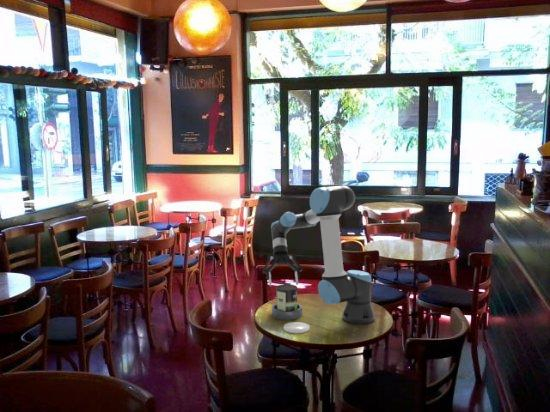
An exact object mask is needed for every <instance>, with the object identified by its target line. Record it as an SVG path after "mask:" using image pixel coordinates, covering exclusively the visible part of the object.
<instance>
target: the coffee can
mask: <svg viewBox="0 0 550 412" xmlns="http://www.w3.org/2000/svg"><path fill="white" fill-rule="evenodd" d="M275 289H276V303H277V310H279V311H294V310H297V304H298V287H297V285H296V284H295V285H294V284H291V283H289V284H288V283H287V284H286V283H285V284H279V285H277V286H276V287H275Z"/></svg>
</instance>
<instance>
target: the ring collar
mask: <svg viewBox="0 0 550 412" xmlns="http://www.w3.org/2000/svg"><path fill="white" fill-rule="evenodd" d="M271 316H272V318H275V319H277V320H282V321H291V320H292V321H293V320H297V319H299V318H301V317H302V316H303V306H302V305H301V304H300V303H297V310H294V311H279V310H277V302H276V303H274V304H273V305H272V306H271Z"/></svg>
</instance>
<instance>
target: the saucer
mask: <svg viewBox="0 0 550 412" xmlns="http://www.w3.org/2000/svg"><path fill="white" fill-rule="evenodd" d="M310 329H311V328H310V325H309V324H308V323H305V322H301V321H293V322H287V323H285V324H284V325H283V331H284V332H285V333H288V334H289V333H290V334H295V335H297V334H304V333H307V332H309V331H310Z"/></svg>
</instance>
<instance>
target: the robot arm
mask: <svg viewBox="0 0 550 412" xmlns="http://www.w3.org/2000/svg"><path fill="white" fill-rule="evenodd" d="M355 202H356V194H355V191H353V189H352V188H350V187H349V186H347V185H332V186H321V187H317V188H315V189H314V190H313V191H312V192H311V194H310V197H309V207H310V209H309V210H307V211H306V212H304V213H296V214H295V213H294V212H291V211H286V212H284V213H283V214H282V216H280V218H279V220H276V221H274V222H272V223H271V225H270V230H271V231H270V232H271V233H270V234H271V240H272V250H273V251H272V252H273V256H272V255H268V256H267V260H266V262H265V265H264V266H263V269H262V274H266V280H268V283H269V287H272V274H271V271H272V270H274V268H275V267H276V266H277V265H278V266H279V265H286V266H287V267H289V268H290V269H291V270H293V271H294V277H295V286H297V285H298V284H299V279H300V273H301V272H302V271H303V267H302V265H301V264H300V263H299V261H298V260H297V258H296V256H295V254H292V255H289V251H288V244H287V243H288V242H287V234H288V233H289V231H290V230H295V229H305V228H311V227H315V226H316V225H317V224H318V223H319V226H320V233H321V235H320V236H321V243H322V254H323V264H324V272H323V274H322V275H321V279H322V280H320V281H319V282H318V285H317V291H318V294H319V297H320V298H321V300H322V301H323V302H324V303H325V304H327V305H338V304H340V303H345V302H346V303H345V305H344V308H343V311H342V319H343V321H345V322H347V323H351V324H358V325H359V324H360V325H364V324H365V325H366V324H370V323H372V322H374V321H375V312H374V308H373V305H372V282H373V281H372V275H371V274H370V273H369V272H367V271H362V270H358V269H357V270H356V269H350V270H347V271H345V270H344V264H343V263H344V261H343V253H342V252H343V251H342V250H343V249H342V242H341V241H342V240H341V231H340V229H341V228H340V222H339V218H340V217H341V216H342V212H345V211H346V210H349V209H350V208H352V207H353V206H354V204H355ZM272 260H274V261H273V263H271V265H270V262H271V261H272ZM290 260H291V261H292V262H291V261H290ZM269 265H270V266H269Z"/></svg>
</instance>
